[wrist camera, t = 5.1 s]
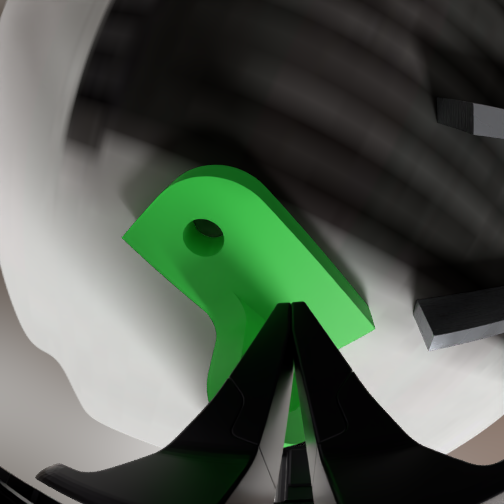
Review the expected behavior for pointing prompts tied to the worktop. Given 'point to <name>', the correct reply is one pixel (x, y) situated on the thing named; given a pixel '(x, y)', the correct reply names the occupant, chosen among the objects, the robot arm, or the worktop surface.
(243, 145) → the worktop surface
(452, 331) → the seating bracket
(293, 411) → the mechanical part
